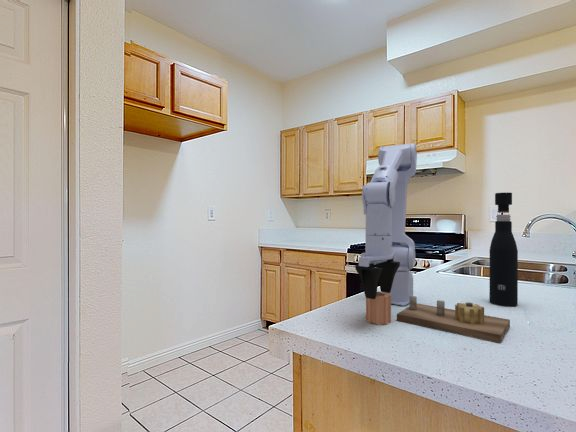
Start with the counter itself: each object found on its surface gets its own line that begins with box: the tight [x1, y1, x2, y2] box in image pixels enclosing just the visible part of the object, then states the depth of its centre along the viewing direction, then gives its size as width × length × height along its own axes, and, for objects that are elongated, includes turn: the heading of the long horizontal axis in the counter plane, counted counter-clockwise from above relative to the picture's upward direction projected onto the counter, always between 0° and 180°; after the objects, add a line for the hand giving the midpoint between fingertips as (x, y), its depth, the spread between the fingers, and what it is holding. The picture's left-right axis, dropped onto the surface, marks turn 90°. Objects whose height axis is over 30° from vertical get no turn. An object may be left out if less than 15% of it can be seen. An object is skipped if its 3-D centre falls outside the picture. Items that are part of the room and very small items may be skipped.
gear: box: [365, 291, 392, 326], centre depth 74 cm, size 5×5×6 cm
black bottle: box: [488, 192, 519, 308], centre depth 88 cm, size 6×6×30 cm
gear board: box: [396, 295, 511, 344], centre depth 72 cm, size 12×20×5 cm, turn 49°
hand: (378, 295), depth 74 cm, fingers open, 7 cm apart
